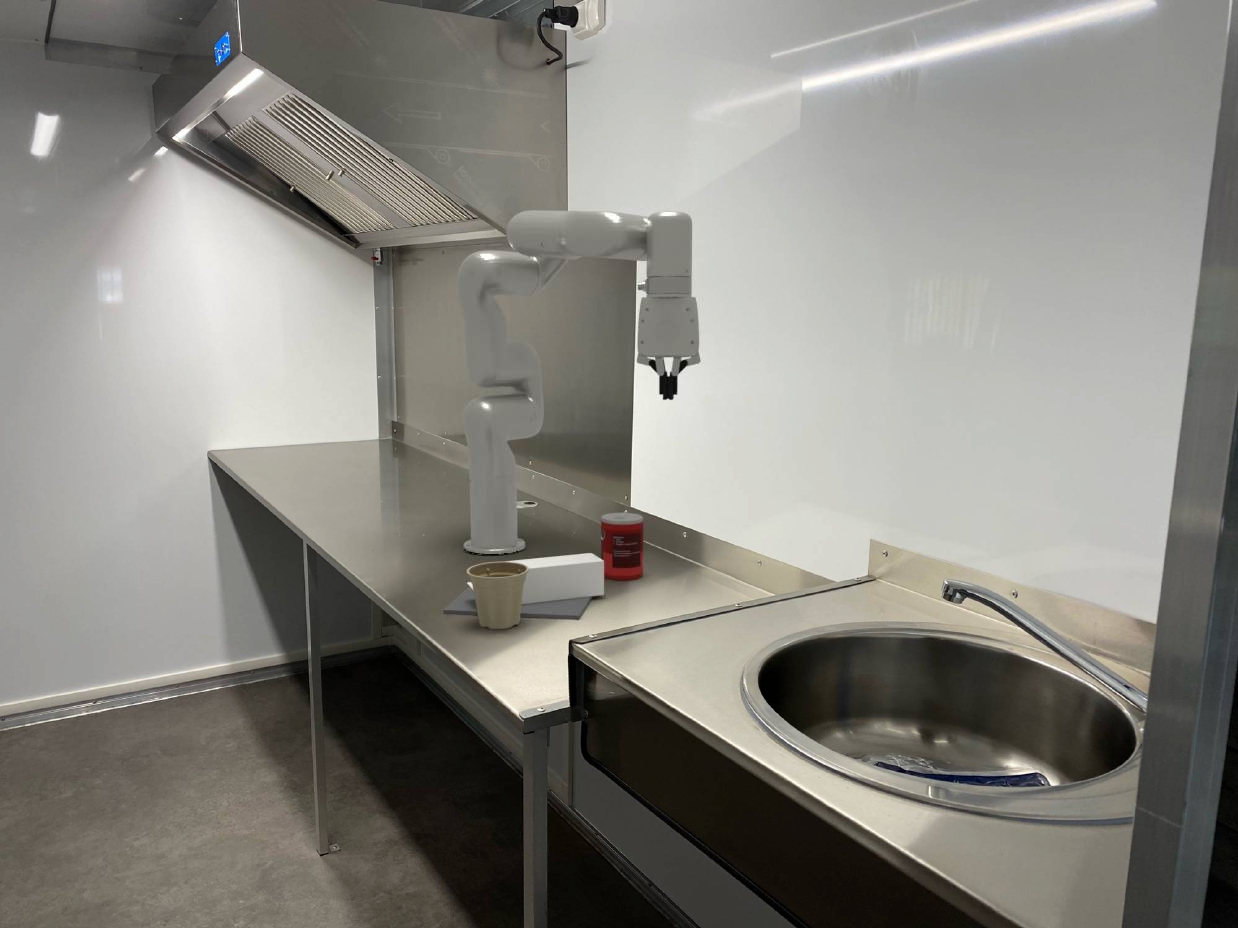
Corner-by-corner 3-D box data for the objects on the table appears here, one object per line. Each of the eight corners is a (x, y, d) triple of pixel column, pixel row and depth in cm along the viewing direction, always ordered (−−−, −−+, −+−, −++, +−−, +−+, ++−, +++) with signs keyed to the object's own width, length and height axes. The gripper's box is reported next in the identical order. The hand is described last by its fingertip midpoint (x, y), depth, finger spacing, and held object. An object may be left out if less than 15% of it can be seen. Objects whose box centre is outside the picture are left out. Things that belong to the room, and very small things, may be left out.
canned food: (618, 567, 176) (618, 510, 174) (652, 574, 171) (652, 516, 169) (592, 575, 170) (591, 517, 168) (626, 583, 165) (626, 522, 163)
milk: (604, 594, 155) (475, 611, 147) (591, 585, 161) (466, 601, 153) (604, 559, 154) (474, 574, 146) (591, 551, 160) (465, 565, 152)
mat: (479, 580, 167) (479, 576, 167) (600, 584, 164) (600, 581, 164) (443, 613, 147) (443, 609, 147) (579, 619, 144) (579, 615, 144)
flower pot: (486, 637, 136) (484, 580, 135) (457, 621, 143) (455, 567, 142) (541, 625, 141) (540, 570, 140) (510, 610, 149) (509, 558, 148)
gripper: (621, 288, 151) (621, 400, 154) (713, 287, 149) (711, 401, 152) (627, 290, 159) (627, 397, 161) (715, 289, 156) (713, 398, 159)
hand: (668, 399), depth 156 cm, fingers closed
